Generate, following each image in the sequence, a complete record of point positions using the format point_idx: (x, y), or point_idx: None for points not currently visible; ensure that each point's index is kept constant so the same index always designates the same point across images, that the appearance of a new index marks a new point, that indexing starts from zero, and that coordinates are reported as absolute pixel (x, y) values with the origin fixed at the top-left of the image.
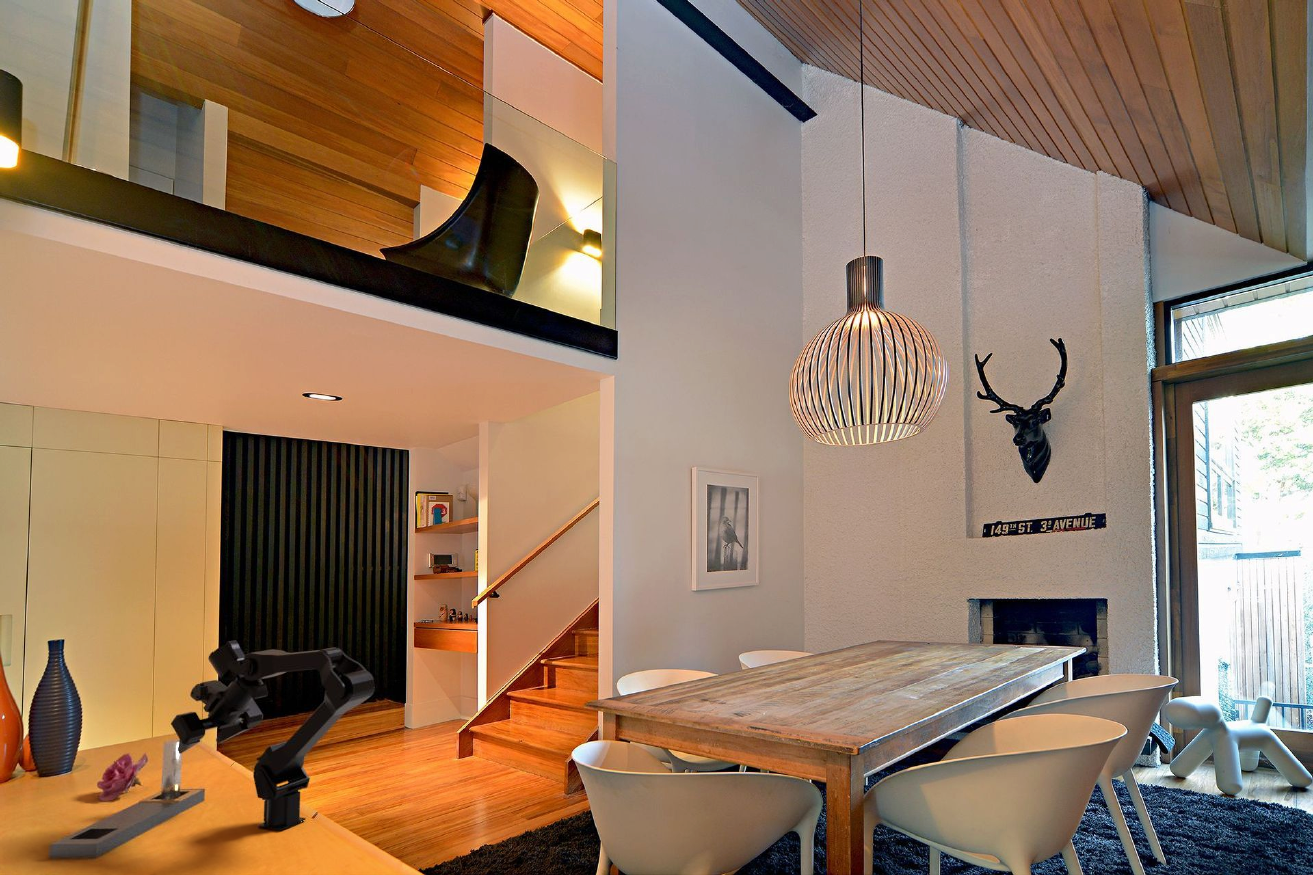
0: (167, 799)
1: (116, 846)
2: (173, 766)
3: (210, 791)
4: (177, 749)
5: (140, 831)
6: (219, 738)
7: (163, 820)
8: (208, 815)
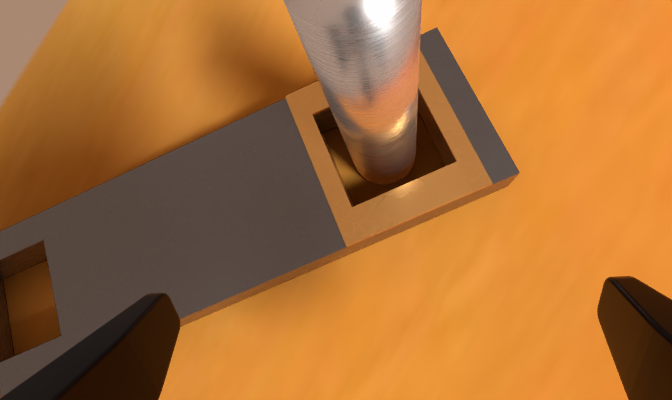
0: (339, 179)
1: None
2: (346, 113)
3: (597, 96)
4: (143, 297)
5: None
6: (628, 343)
7: (269, 287)
8: (385, 395)
